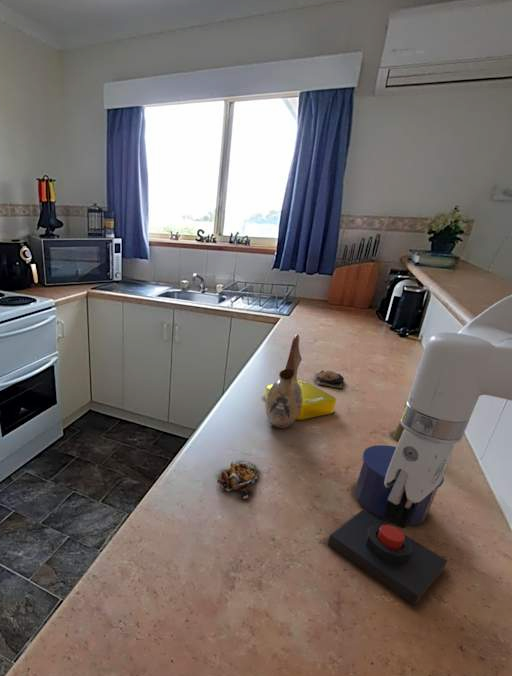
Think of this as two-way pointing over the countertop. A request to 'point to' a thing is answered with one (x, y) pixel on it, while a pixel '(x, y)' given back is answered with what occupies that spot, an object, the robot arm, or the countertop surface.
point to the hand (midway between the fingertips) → (395, 520)
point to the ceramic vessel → (286, 392)
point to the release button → (391, 537)
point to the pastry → (239, 477)
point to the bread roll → (330, 379)
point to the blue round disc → (381, 459)
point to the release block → (388, 557)
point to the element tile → (313, 401)
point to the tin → (385, 497)
